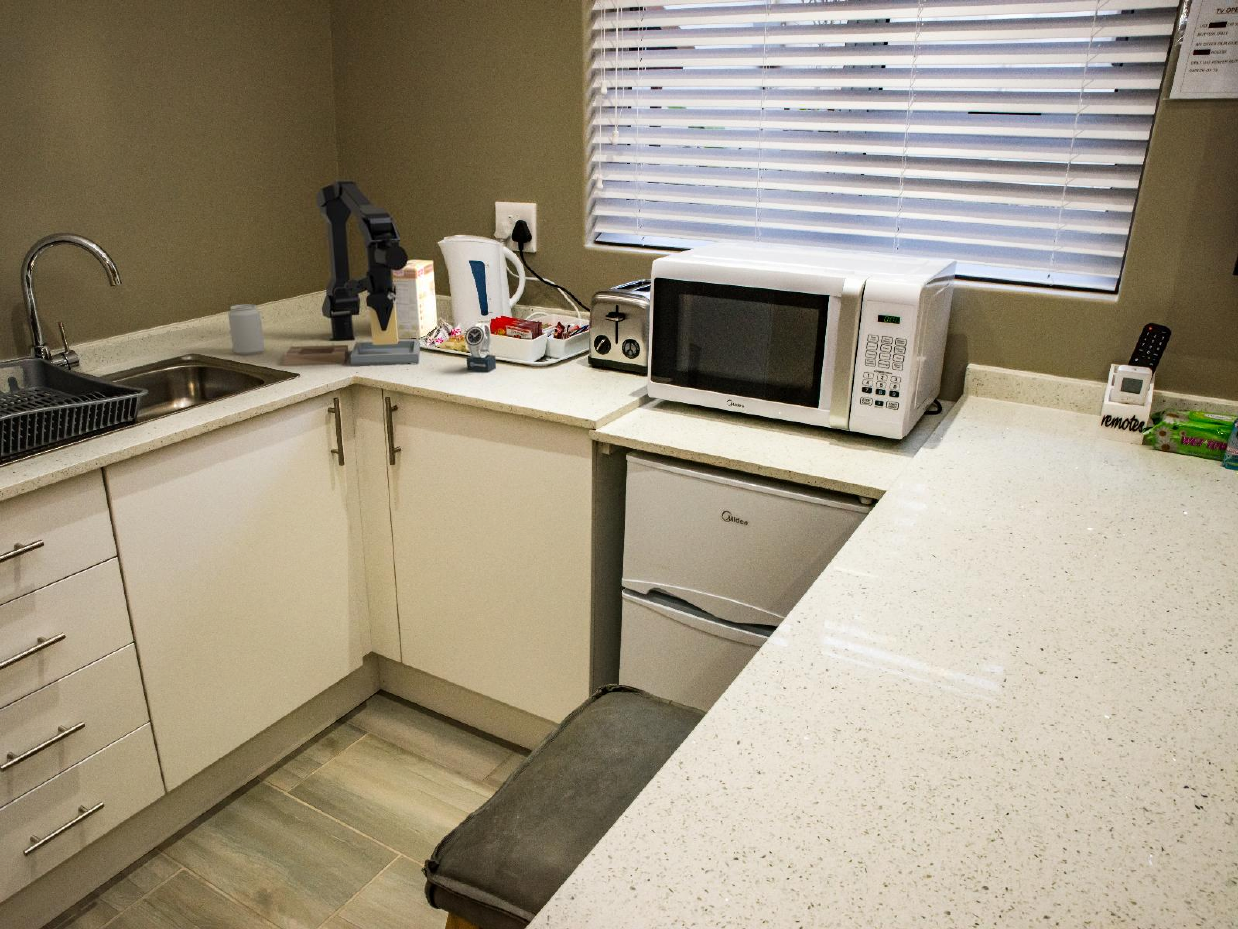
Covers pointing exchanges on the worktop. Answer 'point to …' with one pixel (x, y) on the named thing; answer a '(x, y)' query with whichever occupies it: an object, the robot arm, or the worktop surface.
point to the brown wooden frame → (316, 355)
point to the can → (246, 329)
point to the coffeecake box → (415, 299)
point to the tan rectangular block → (384, 336)
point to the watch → (479, 348)
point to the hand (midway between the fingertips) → (384, 328)
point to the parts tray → (385, 353)
